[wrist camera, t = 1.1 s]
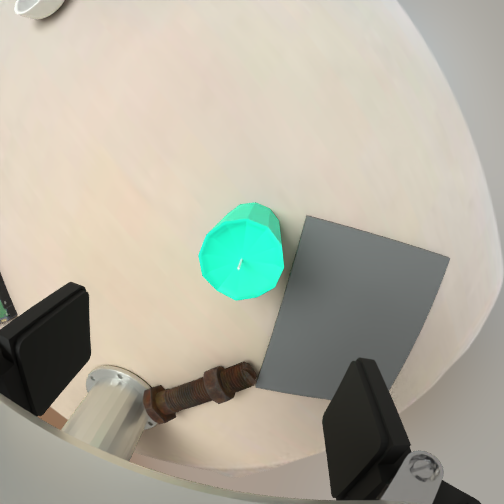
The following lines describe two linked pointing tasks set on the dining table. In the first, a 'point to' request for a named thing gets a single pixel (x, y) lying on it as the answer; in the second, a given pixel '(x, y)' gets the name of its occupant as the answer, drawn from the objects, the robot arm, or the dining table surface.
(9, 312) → the disk drive
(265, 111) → the dining table surface
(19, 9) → the teacup
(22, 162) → the dining table surface
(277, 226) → the candle
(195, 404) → the bolt
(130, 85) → the dining table surface
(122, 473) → the robot arm
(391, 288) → the mat
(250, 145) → the dining table surface
